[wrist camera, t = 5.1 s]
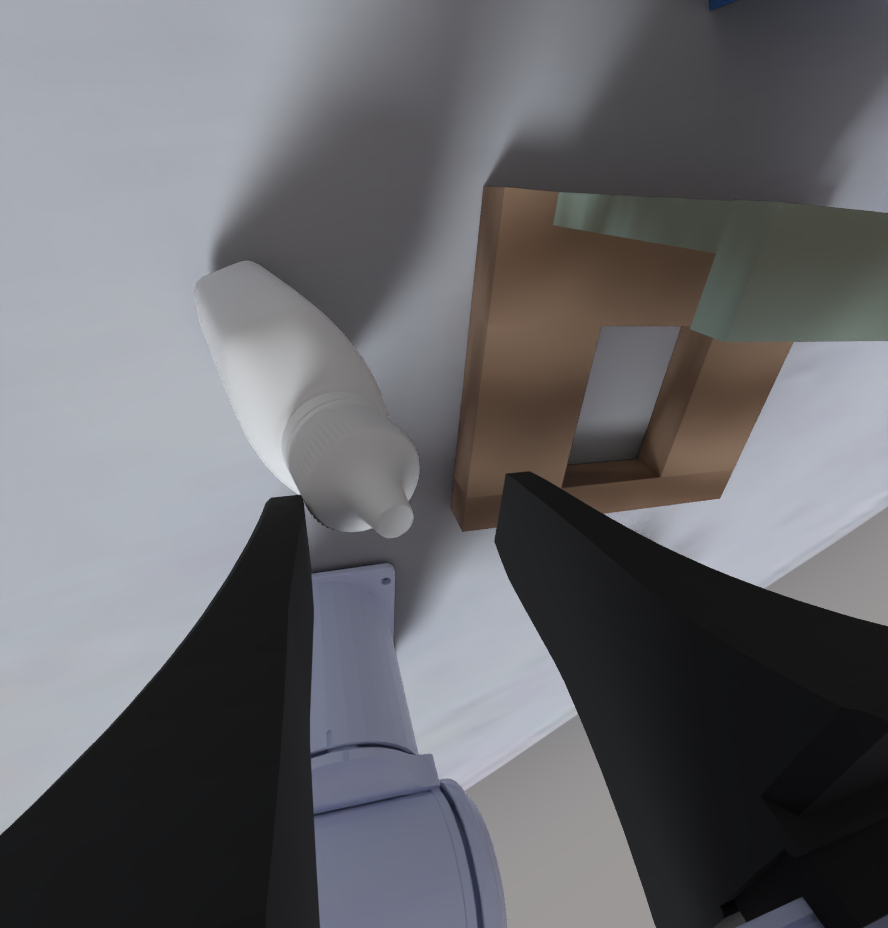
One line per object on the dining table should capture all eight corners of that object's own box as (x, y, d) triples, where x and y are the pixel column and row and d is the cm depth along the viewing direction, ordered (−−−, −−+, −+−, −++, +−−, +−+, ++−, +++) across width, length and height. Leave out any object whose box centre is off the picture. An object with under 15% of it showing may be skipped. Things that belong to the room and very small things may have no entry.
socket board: (695, 480, 28) (882, 618, 19) (450, 507, 24) (547, 703, 15) (807, 216, 21) (1192, 244, 12) (483, 186, 17) (712, 194, 8)
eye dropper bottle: (326, 269, 17) (532, 368, 8) (317, 412, 19) (467, 612, 10) (190, 250, 15) (264, 356, 6) (199, 414, 17) (261, 672, 8)
